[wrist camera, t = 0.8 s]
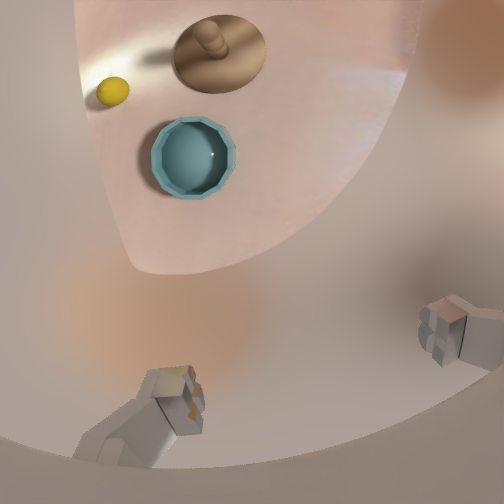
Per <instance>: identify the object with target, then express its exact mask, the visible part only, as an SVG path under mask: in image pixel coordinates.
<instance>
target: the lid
mask: <svg viewBox="0 0 504 504" xmlns="http://www.w3.org/2000/svg"><path fill="white" fill-rule="evenodd" d="M265 56H266V46H265V41H264V38H263V36H262V34H261V33H260V31H259V30H258V29H257V28H256V27H255V26H254V25H253V24H252V23H250V22H249V21H247V20H245V19H243V18H240V17H237V16H232V15H216V16H211V17H208V18H205V19H202V20H200V21H198V22H197V23H195V24H193V25H192V26H191V27H190V28H188V29H187V30H186V31H185V33H184V34H183V35H182V36H181V38H180V40H179V41H178V44H177V46H176V50H175V66H176V69H177V71H178V73H179V75H180V76H181V78H182V79H183V80H184V81H185V82H186V83H187V84H189V85H190V86H192V87H193V88H195V89H197V90H200V91H203V92H207V93H226V92H231V91H234V90H237V89H239V88H241V87H243V86H245V85H246V84H248V83H249V82H250V81H252V80H253V79H254V78H255V77H256V75H257V74H258V73H259V72H260V70H261V68H262V66H263V64H264V61H265Z"/></svg>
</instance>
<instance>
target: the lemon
mask: <svg viewBox="0 0 504 504" xmlns="http://www.w3.org/2000/svg"><path fill="white" fill-rule="evenodd" d="M128 95H129V85H128V83H127V82H126V81H125V80H124V79H122V78H119V77H109V78H107V79H105V80H103V81H102V82H101V83H100V84H99V86H98V88H97V98H98V99H99V101H100V102H101V103H103V104H105V105H108V106H116V105H119V104H121V103H122V102H124V101H125V100H126V99H127V97H128Z"/></svg>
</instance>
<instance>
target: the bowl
mask: <svg viewBox="0 0 504 504" xmlns="http://www.w3.org/2000/svg"><path fill="white" fill-rule="evenodd" d="M235 150H236V146H235V144H234V142H233V141H232V139H231V137H230V135H229V134H228V132H227V130H226V129H225V128H224V127H223V126H221V125H219V124H217V123H215V122H213V121H212V120H210V119H208V118H205V117H183V118H178V119H177V120H175V121H174V122H172V123H171V124H169V125H168V126H166V127H165V128H163V129H162V130H161V131H160V133H159V135H158V137H157V139H156V140H155V142H154V144H153V146H152V148H151V166H152V172H153V174H154V176H155V177H156V179H157V181H158V182H159V184H160V186H161V187H162V189H163V190H165V191H167V192H169V193H170V194H172V195H174V196H175V197H177V198H179V199H186V200H202V199H204V198H206V197H207V196H209V195H211V194H213V193H214V192H216V191H218V190H220V189H221V188H222V187H223V186H224V185H225V183H226V181H227V180H228V178H229V176H230V175H231V173H232V171H233V170H234V168H235Z"/></svg>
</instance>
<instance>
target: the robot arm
mask: <svg viewBox="0 0 504 504" xmlns="http://www.w3.org/2000/svg"><path fill="white" fill-rule="evenodd" d="M420 320H421V321H422V323H421V325H420V327H419V331H418V337H419V342H420V344H421V346H422V348H423V349H424V350H425V351H427V352H431V353H432V358H433V359H434V360H435V361H436V362H437V363H438V364H439V365H440V366H441V367H443V366H445V365H447V364H449V363H451V362H453V361H455V360H457V359H459V360H461V361H464V362H467V363H469V364H472V365H475V366H478V367H481V368H483V369H486V370H489V371H491V372H490V373H488V374H487V375H486V376H484V377H483V378H481V379H480V380H478V381H477V382H475V383H474V384H472V385H470V386H469V387H467V388H465V389H464V390H462V391H461V392H459V393H457V394H455V395H454V396H452V397H450V398H449V399H447V400H445V401H443V402H441V403H439V404H438V405H436V406H434V407H432V408H430V409H428V410H426V411H424V412H422V413H420V414H418V415H416V416H413V417H411V418H409V419H407V420H405V421H402V422H400V423H398V424H395V425H393V426H390V427H388V428H386V429H383V430H381V431H378V432H376V433H373V434H370V435H367V436H364V437H362V438H359V439H356V440H353V441H350V442H346V443H343V444H340V445H337V446H334V447H330V448H326V449H323V450H319V451H315V452H311V453H307V454H302V455H298V456H293V457H289V458H284V459H279V460H273V461H267V462H261V463H254V464H246V465H238V466H228V467H216V468H197V469H157V468H152V467H153V466H154V465H155V463H156V462H157V461H158V460H159V459H160V458H161V456H162V455H163V454H164V453H165V452H166V450H167V449H168V448H169V447H170V446H171V445H172V443H173V442H174V441H175V440H176V439H177V436H184V435H195V434H202V427H203V418H202V416H201V413H202V412H203V411H204V408H205V401H204V394H203V391H202V388H201V385H200V384H198V383H197V382H195V379H196V373H195V371H194V369H193V367H192V366H191V365H188V366H179V367H169V368H158V369H150V370H148V371H147V373H146V375H145V378H144V380H143V383H142V385H141V387H140V390H139V392H138V395H137V397H136V399H131V400H130V401H129V402H127V403H126V404H125V405H123V406H122V407H120V408H119V409H118V410H116V411H115V412H114V413H112V414H111V415H110V416H108V417H107V418H106V419H104V420H103V421H101V422H100V423H98V424H97V425H96V426H94V427H93V428H91V429H90V430H89V431H87V432H86V433H84V434H83V436H82V438H81V440H80V442H79V444H78V446H77V448H76V450H75V453H74V454H73V457H72V458H69V457H65V456H61V455H56V454H52V453H49V452H45V451H41V450H37V449H34V448H31V447H28V446H25V445H22V444H19V443H16V442H13V441H11V440H8V439H6V438H3V437H0V504H504V311H501V310H492V309H484V308H481V309H478V308H476V307H474V306H473V305H471V304H469V303H468V302H466V301H464V300H463V299H461V298H459V297H458V296H456V295H449V296H447V297H445V298H443V299H441V300H439V301H437V302H434V303H432V304H430V305H427V306H424V307H422V308H421V311H420Z"/></svg>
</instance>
